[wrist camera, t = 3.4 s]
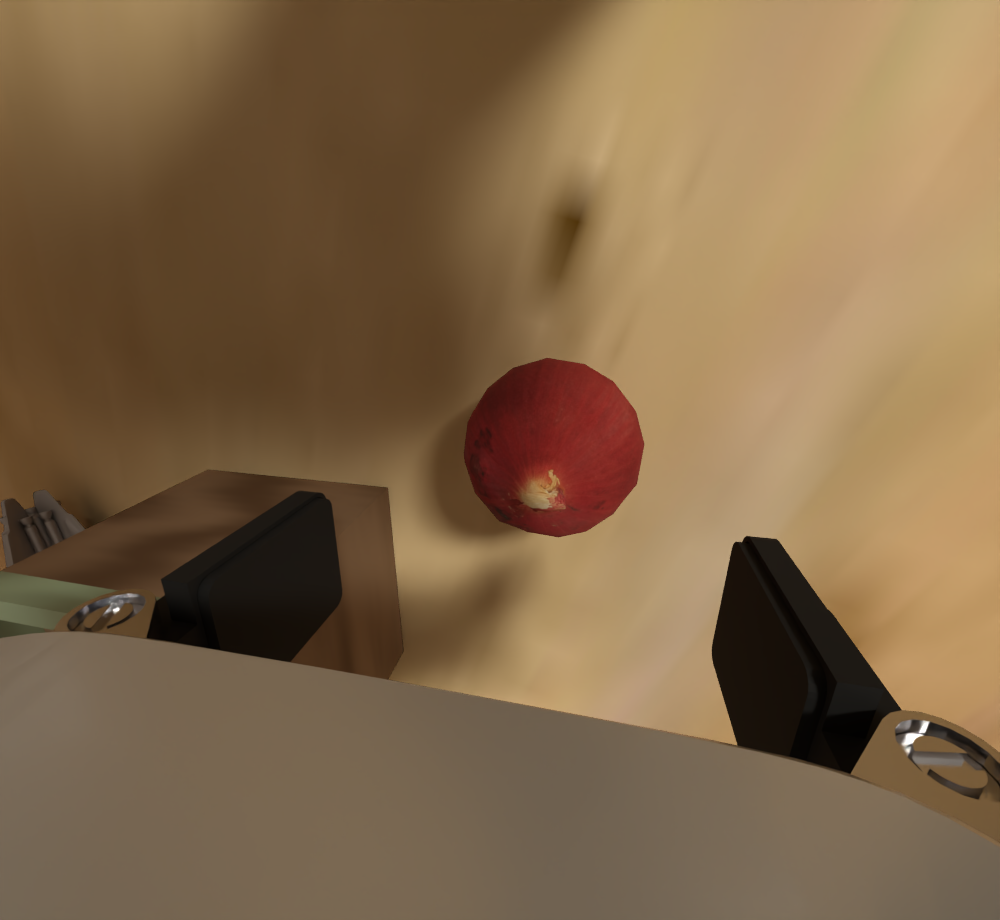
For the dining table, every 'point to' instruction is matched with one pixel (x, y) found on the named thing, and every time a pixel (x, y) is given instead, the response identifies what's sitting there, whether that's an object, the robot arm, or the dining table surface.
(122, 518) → the green shadow box
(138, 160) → the dining table surface
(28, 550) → the spaceship
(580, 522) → the onion
